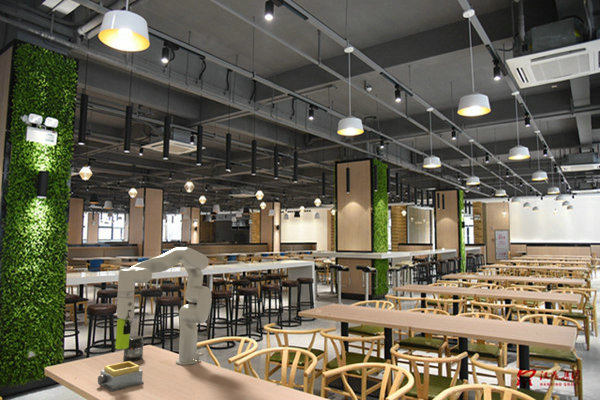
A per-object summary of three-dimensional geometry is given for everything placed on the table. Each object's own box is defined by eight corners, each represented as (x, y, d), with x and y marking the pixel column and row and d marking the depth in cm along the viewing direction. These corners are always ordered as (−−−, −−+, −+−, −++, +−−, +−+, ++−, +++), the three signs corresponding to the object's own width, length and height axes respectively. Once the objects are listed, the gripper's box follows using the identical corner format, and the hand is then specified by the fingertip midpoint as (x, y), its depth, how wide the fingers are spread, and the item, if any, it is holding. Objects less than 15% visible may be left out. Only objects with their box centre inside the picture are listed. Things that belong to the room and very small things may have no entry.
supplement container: (129, 355, 242) (130, 335, 243) (146, 356, 241) (147, 335, 242) (119, 361, 232) (120, 339, 233) (137, 361, 231) (138, 339, 232)
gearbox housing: (129, 376, 206) (130, 359, 207) (143, 383, 196) (144, 366, 197) (94, 384, 194) (95, 366, 195) (107, 392, 184) (108, 374, 185)
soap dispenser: (125, 349, 194) (128, 306, 195) (112, 348, 195) (115, 305, 196) (133, 346, 199) (136, 304, 201) (120, 345, 201) (123, 303, 202)
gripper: (141, 295, 197) (139, 334, 195) (125, 292, 208) (123, 328, 207) (125, 297, 191) (123, 337, 189) (110, 293, 203) (108, 331, 201)
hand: (123, 332), depth 198 cm, fingers closed on soap dispenser, 6 cm apart
